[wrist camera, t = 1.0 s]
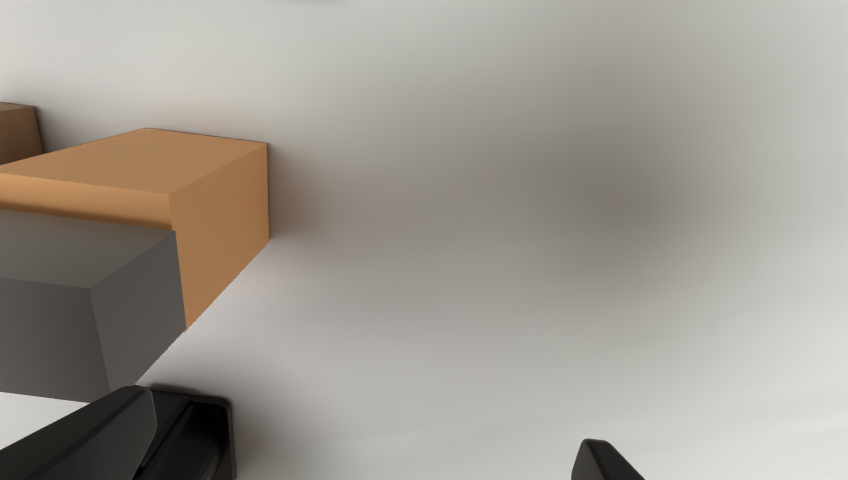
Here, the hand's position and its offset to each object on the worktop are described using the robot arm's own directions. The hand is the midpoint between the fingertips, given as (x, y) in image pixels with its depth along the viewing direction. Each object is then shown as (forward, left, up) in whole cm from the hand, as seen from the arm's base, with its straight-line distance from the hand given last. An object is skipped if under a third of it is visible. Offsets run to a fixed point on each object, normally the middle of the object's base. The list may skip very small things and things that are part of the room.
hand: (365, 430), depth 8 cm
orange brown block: (0, +9, -12) cm, 15 cm away
